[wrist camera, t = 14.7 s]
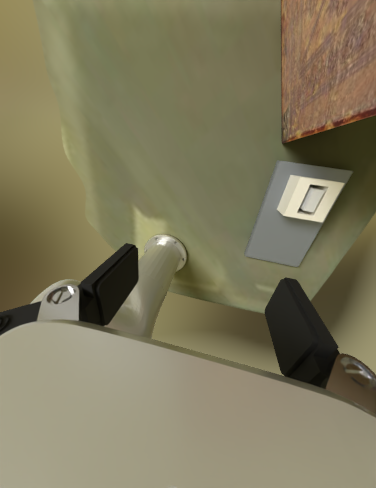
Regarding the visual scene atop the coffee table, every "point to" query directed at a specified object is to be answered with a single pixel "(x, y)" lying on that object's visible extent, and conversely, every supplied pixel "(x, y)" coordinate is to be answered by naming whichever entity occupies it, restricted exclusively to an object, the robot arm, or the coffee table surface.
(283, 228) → the grey flat piece
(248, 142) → the coffee table surface
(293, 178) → the collar
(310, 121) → the book
